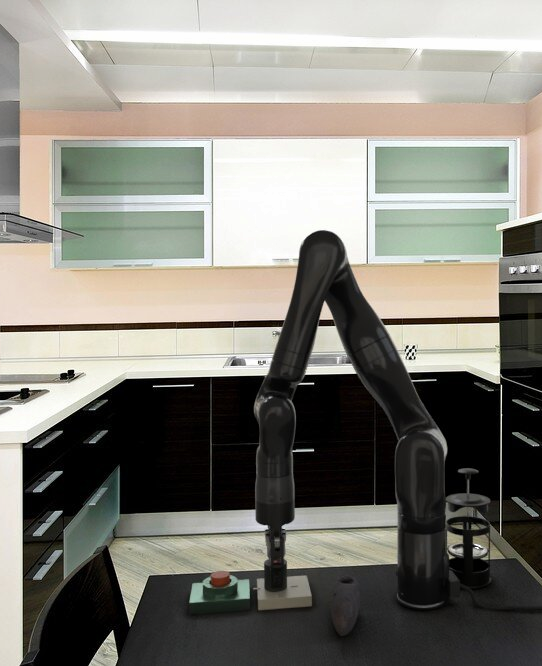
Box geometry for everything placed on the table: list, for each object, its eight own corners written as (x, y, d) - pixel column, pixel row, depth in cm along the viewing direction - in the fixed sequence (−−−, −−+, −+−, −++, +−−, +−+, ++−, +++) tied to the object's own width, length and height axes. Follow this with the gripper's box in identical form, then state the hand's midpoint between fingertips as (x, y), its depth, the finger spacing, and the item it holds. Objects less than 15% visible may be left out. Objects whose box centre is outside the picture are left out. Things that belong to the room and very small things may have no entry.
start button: (230, 578, 131) (229, 570, 131) (229, 586, 128) (229, 577, 128) (211, 580, 131) (211, 571, 131) (210, 587, 127) (210, 578, 127)
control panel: (306, 584, 137) (306, 574, 137) (311, 606, 127) (311, 595, 127) (252, 588, 135) (252, 578, 135) (253, 610, 125) (253, 599, 125)
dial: (263, 583, 133) (263, 557, 133) (286, 581, 134) (285, 555, 133) (264, 593, 128) (264, 565, 128) (288, 591, 129) (287, 563, 129)
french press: (492, 592, 133) (493, 476, 132) (444, 589, 134) (444, 475, 134) (489, 569, 145) (489, 463, 144) (444, 567, 146) (445, 461, 145)
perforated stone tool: (356, 645, 112) (355, 604, 112) (324, 644, 113) (324, 603, 113) (362, 605, 127) (362, 569, 127) (334, 604, 128) (334, 568, 128)
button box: (249, 590, 135) (249, 570, 134) (249, 610, 126) (249, 588, 126) (192, 594, 133) (192, 574, 133) (189, 614, 124) (188, 593, 124)
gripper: (297, 506, 124) (298, 593, 125) (291, 486, 138) (292, 564, 139) (256, 508, 123) (256, 596, 123) (254, 487, 137) (255, 566, 137)
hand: (275, 579), depth 131 cm, fingers open, 8 cm apart
